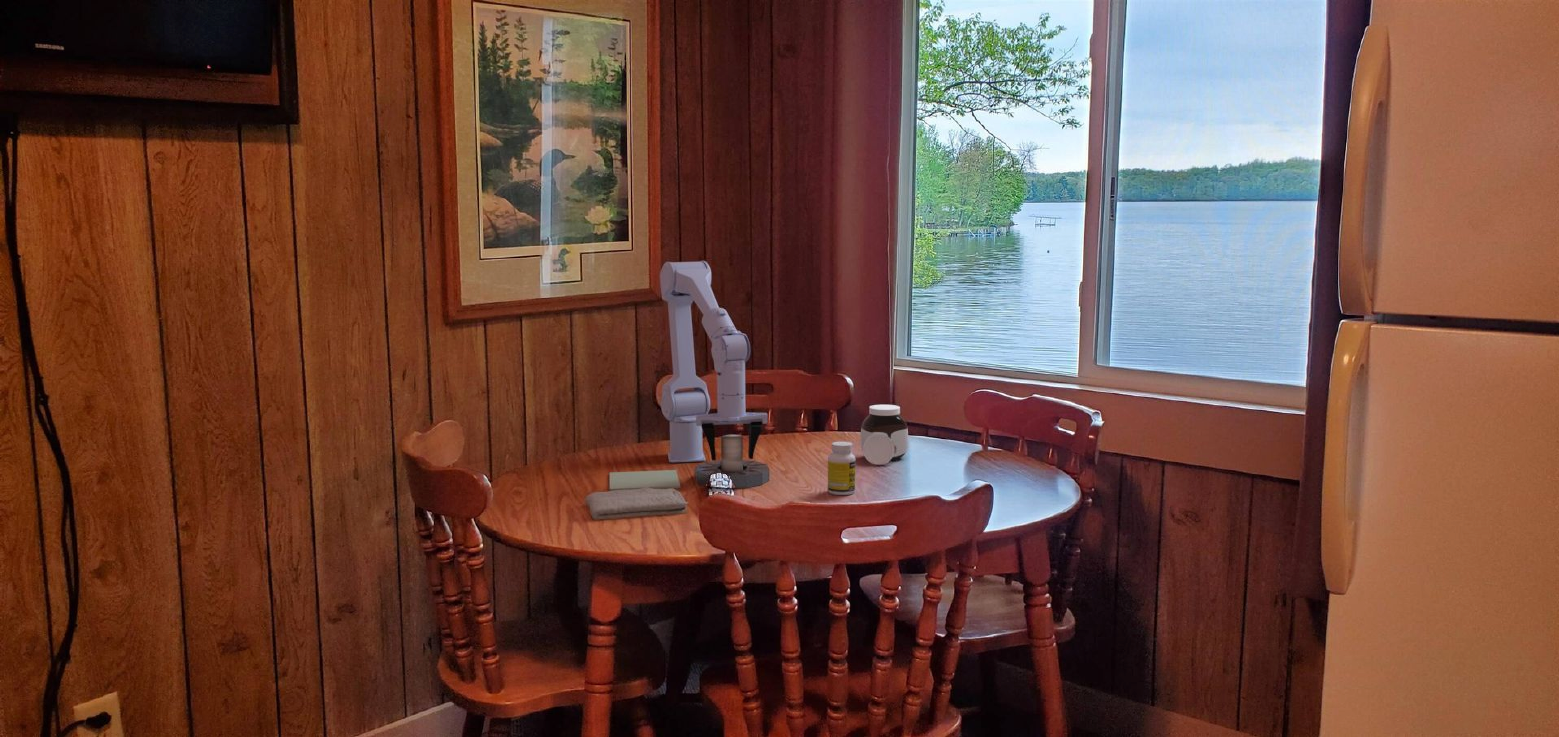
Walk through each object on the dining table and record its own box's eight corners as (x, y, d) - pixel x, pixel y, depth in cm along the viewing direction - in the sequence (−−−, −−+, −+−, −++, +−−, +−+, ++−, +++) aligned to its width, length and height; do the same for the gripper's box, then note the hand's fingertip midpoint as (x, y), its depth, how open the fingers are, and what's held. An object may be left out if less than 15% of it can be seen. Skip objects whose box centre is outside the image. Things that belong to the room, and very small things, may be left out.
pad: (609, 474, 229) (609, 472, 229) (676, 471, 231) (676, 469, 231) (609, 490, 215) (609, 488, 215) (680, 487, 217) (680, 485, 217)
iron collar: (693, 472, 230) (693, 461, 230) (763, 469, 232) (763, 458, 232) (699, 490, 215) (698, 477, 215) (773, 486, 218) (773, 474, 217)
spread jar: (897, 453, 248) (898, 402, 246) (919, 463, 237) (919, 411, 236) (848, 457, 244) (848, 406, 243) (868, 468, 234) (868, 414, 232)
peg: (720, 477, 226) (720, 435, 224) (741, 476, 226) (741, 434, 225) (722, 482, 221) (722, 439, 220) (744, 481, 222) (743, 438, 221)
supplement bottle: (853, 496, 210) (853, 446, 209) (825, 495, 211) (825, 445, 210) (857, 489, 215) (857, 441, 214) (830, 488, 216) (830, 440, 215)
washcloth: (690, 515, 199) (690, 499, 198) (591, 523, 194) (591, 506, 194) (678, 499, 210) (678, 484, 210) (584, 506, 205) (584, 491, 205)
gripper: (697, 397, 216) (698, 464, 218) (769, 395, 218) (769, 461, 220) (694, 392, 223) (695, 456, 225) (764, 390, 225) (765, 454, 227)
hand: (732, 458), depth 223 cm, fingers open, 7 cm apart
